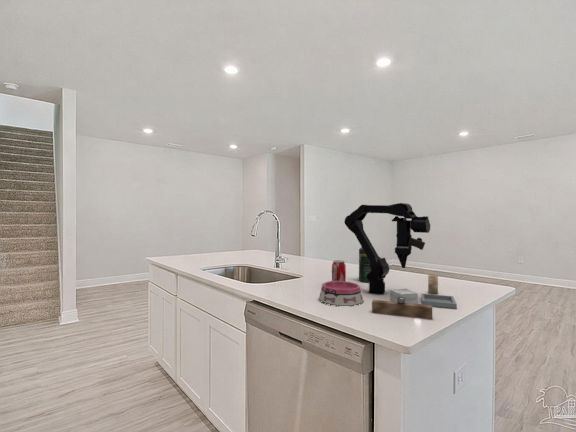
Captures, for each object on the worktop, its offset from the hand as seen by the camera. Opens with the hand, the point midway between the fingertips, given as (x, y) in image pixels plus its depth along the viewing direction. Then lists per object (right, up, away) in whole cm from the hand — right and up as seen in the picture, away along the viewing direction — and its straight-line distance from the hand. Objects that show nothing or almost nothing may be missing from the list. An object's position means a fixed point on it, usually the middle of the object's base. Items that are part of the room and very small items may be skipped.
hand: (403, 267), depth 133 cm
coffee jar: (-8, -13, +33) cm, 37 cm away
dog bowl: (-28, -13, -4) cm, 31 cm away
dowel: (+16, -13, +6) cm, 21 cm away
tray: (+10, -13, -10) cm, 19 cm away
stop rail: (-10, -13, -24) cm, 28 cm away
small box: (-4, -13, -9) cm, 16 cm away
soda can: (-24, -13, +25) cm, 37 cm away
